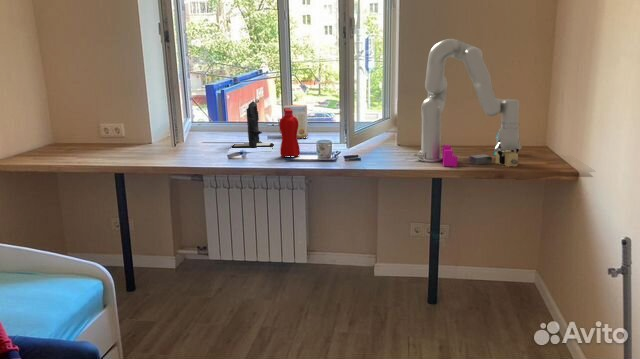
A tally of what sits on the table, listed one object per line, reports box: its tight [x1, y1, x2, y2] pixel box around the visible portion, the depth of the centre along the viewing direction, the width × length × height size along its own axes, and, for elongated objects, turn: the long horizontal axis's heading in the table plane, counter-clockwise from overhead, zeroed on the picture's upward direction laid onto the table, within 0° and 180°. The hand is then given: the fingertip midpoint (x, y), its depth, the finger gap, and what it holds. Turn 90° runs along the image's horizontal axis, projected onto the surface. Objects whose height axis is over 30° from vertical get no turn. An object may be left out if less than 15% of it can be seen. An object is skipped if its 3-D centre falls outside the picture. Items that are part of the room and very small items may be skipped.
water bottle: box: [279, 110, 301, 158], centre depth 286 cm, size 9×11×25 cm
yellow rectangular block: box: [495, 150, 519, 168], centre depth 258 cm, size 5×12×6 cm, turn 17°
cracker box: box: [283, 104, 309, 138], centre depth 339 cm, size 14×6×21 cm, turn 82°
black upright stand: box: [231, 98, 275, 152], centre depth 314 cm, size 32×25×28 cm
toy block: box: [441, 144, 459, 168], centre depth 263 cm, size 15×6×8 cm, turn 170°
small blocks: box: [468, 154, 493, 166], centre depth 265 cm, size 20×6×3 cm, turn 107°
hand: (507, 162), depth 259 cm, fingers closed on yellow rectangular block, 5 cm apart
